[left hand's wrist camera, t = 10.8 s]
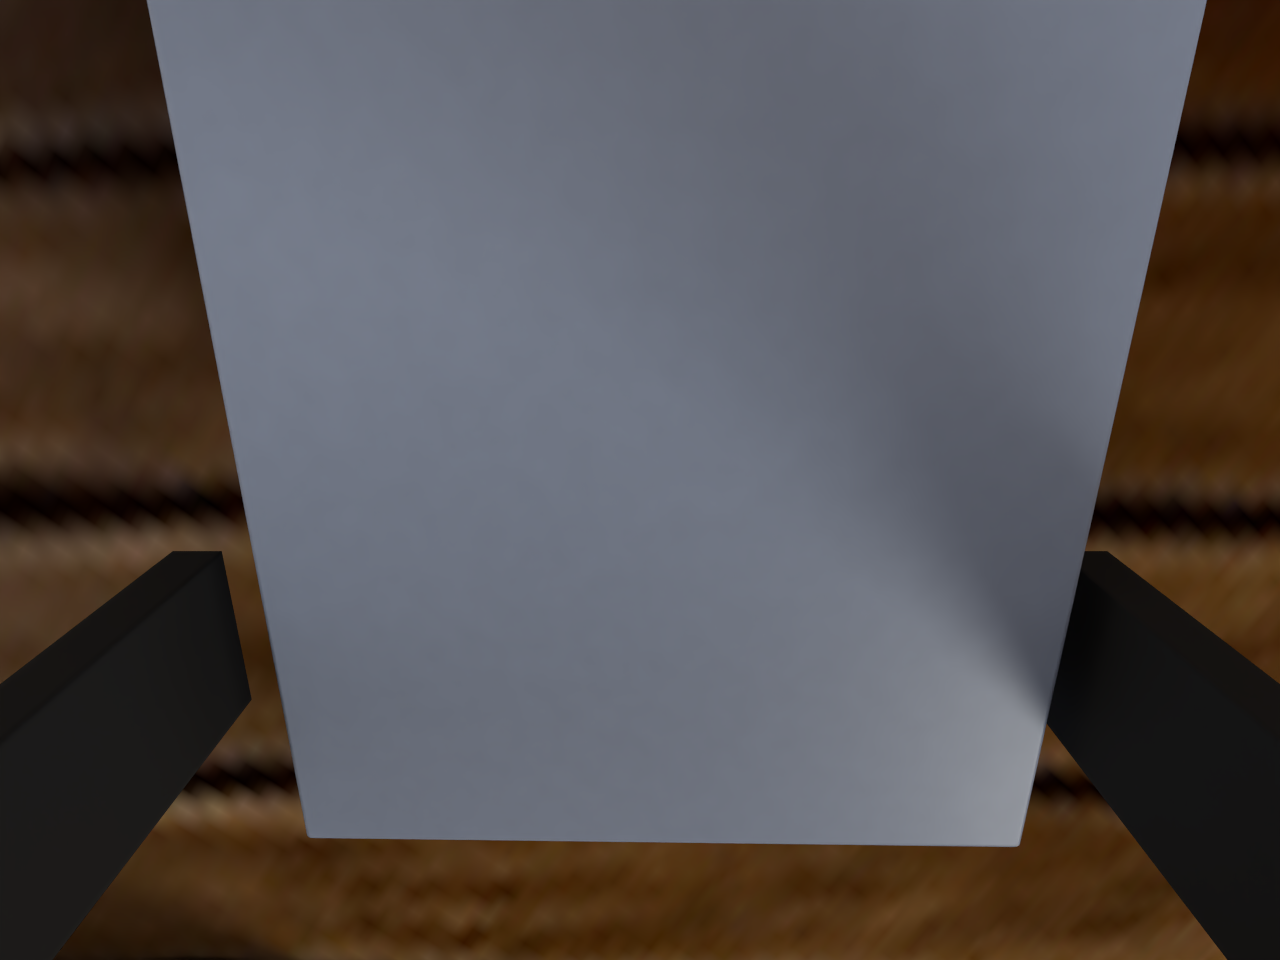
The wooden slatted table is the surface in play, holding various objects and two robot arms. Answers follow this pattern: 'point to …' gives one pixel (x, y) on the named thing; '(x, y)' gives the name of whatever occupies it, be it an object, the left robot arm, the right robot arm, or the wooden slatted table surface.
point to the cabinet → (671, 393)
